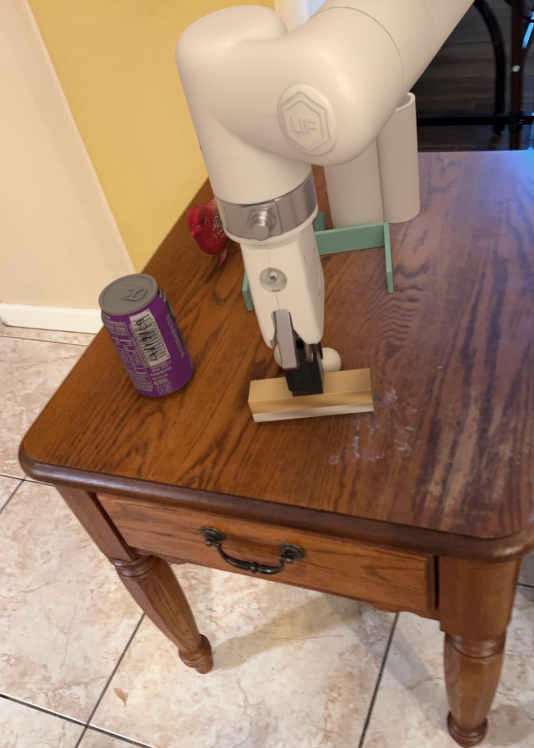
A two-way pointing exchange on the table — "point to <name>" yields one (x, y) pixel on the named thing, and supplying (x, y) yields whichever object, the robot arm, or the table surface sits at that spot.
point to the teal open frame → (344, 245)
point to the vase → (379, 176)
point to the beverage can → (146, 334)
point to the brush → (312, 395)
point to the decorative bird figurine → (208, 229)
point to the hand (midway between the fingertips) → (306, 372)
